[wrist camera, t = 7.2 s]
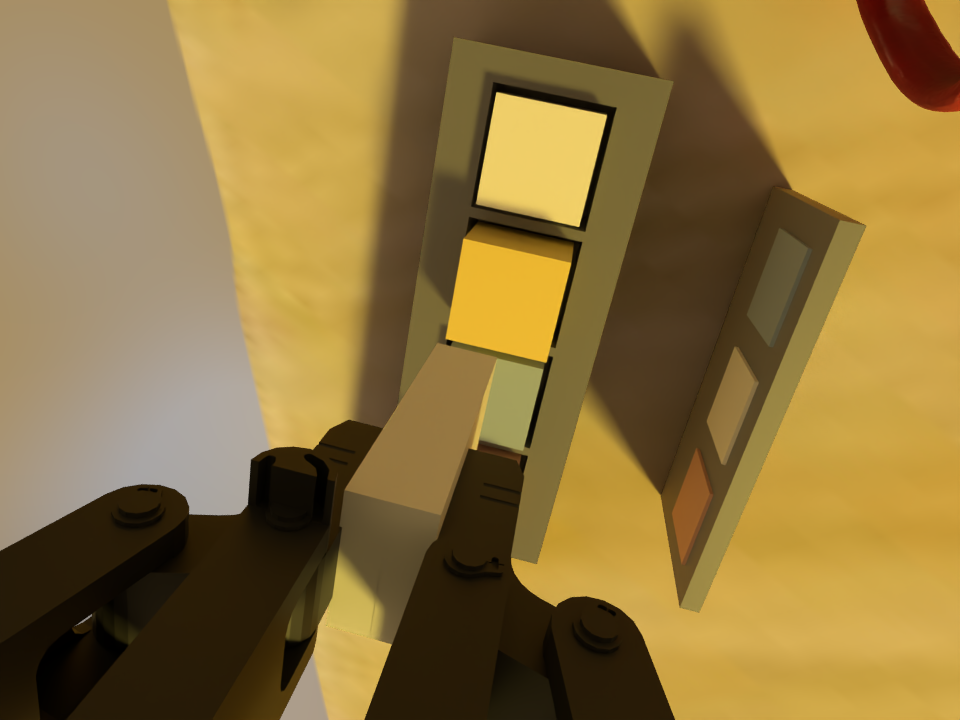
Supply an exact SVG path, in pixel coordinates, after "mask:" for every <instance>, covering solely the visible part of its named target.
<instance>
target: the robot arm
mask: <svg viewBox="0 0 960 720" xmlns="http://www.w3.org/2000/svg"><path fill="white" fill-rule="evenodd" d="M496 361H497V357H494V356H490V355H485V354H481V353H477V352H473V351H469V350H465V349H461V348H457V347H452V346H448V345H444V344H440V343H437V344H436V346H435V348H434V349H433V351H432V352H431V354H430V355H429V357H428V359H427V360H426V362H425V363H424V365H423V367H422V368H421V370H420V371H419V373H418V374H417V376H416V378H415V379H414V381H413V382H412V384H411V386H410V387H409V389H408V390H407V392H406V393H405V395H404V397H403V398H402V400H401V401H400V403H399V404H398V406H397V408H396V409H395V411H394V412H393V414H392V416H391V417H390V419H389V420H388V422H387V423H386V425H385V427H384V428H379V427H375V426H371V425H367V424H363V423H360V422H356V421H352V420H347V421H345V422H343V423H341V424H339V425H337V426H335V427H333V428H331V429H329V431H328V432H327V433H326V434H325V436H324V437H323V438H322V439H321V441H320V442H319V445H317V446H316V447H315V448H314V449H313V450H311V449H307V448H300V447H281V448H274V449H271V450H268V451H265V452H262V453H260V454H259V455H257V456H256V457H254V458H253V459H251V468H250V482H249V497H248V505H247V507H246V508H245V509H244V510H243V511H242V513H241V514H237V515H219V516H218V515H192V514H191V515H190V514H189V505H188V503H187V500H186V498H185V497H184V496H183V495H182V494H180V493H179V492H178V491H176V490H175V489H171V488H168V487H165V486H161V485H147V484H141V485H135V486H128V487H123V488H120V489H118V490H115V491H113V492H110V493H107V494H105V495H103V496H101V497H100V498H98V499H96V500H94V501H92V502H90V503H89V504H87V505H85V506H83V507H81V508H79V509H77V510H75V511H74V512H72V513H70V514H68V515H66V516H64V517H62V518H61V519H59V520H57V521H55V522H53V523H51V524H49V525H48V526H46V527H44V528H42V529H40V530H38V531H37V532H35V533H33V534H31V535H29V536H27V537H25V538H24V539H22V540H20V541H18V542H16V543H14V544H12V545H10V546H9V547H7V548H5V549H3V550H1V551H0V720H280V718H281V716H282V714H283V712H284V710H285V708H286V706H287V704H288V702H289V700H290V698H291V696H292V694H293V692H294V690H295V688H296V685H297V683H298V682H299V680H300V678H301V675H302V674H303V672H304V670H305V667H306V666H307V664H308V661H309V660H310V658H311V656H312V654H313V651H314V647H315V643H316V637H317V630H318V624H319V622H320V620H321V618H322V617H323V615H324V613H325V611H326V609H327V607H328V605H329V607H328V614H327V622H326V626H328V627H332V628H335V629H339V630H343V631H346V632H350V633H353V634H357V635H361V636H364V637H368V638H372V639H375V640H379V641H382V642H386V643H390V644H392V646H391V649H390V651H389V654H388V657H387V660H386V662H385V665H384V668H383V671H382V673H381V676H380V679H379V681H378V684H377V687H376V690H375V692H374V695H373V698H372V701H371V703H370V706H369V709H368V711H367V714H366V717H365V720H675V718H674V716H673V713H672V711H671V708H670V706H669V703H668V700H667V698H666V695H665V693H664V690H663V688H662V685H661V683H660V680H659V677H658V675H657V672H656V670H655V667H654V665H653V662H652V659H651V657H650V654H649V652H648V649H647V647H646V644H645V641H644V639H643V636H642V634H641V633H640V631H639V629H638V628H637V626H636V625H635V623H634V621H633V620H632V619H630V618H629V617H628V616H627V615H626V614H625V613H624V612H623V611H622V610H620V609H619V608H617V607H615V606H613V605H611V604H609V603H607V602H605V601H604V600H599V599H595V598H591V597H587V596H585V597H571V598H569V599H567V600H565V601H563V602H560V603H559V604H558V605H557V607H555V606H553V605H551V604H549V603H548V602H546V601H544V600H542V599H540V598H539V597H537V596H536V595H534V594H533V593H531V592H530V591H529V590H528V589H527V588H526V587H524V586H523V585H522V584H521V583H520V581H519V580H518V578H517V577H516V575H515V574H514V571H513V568H512V565H511V553H512V547H513V541H514V535H515V529H516V524H517V518H518V512H519V505H520V500H521V493H522V488H523V482H524V475H523V473H522V470H521V468H520V466H519V464H518V462H517V460H513V459H509V458H505V457H501V456H497V455H493V454H489V453H485V452H481V451H477V446H478V441H479V437H480V433H481V428H482V424H483V419H484V415H485V410H486V406H487V401H488V397H489V392H490V388H491V384H492V379H493V375H494V370H495V366H496ZM91 614H92V617H90V618H89V619H87V620H86V621H84V622H83V623H81V624H79V625H77V624H78V623H80V622H81V621H82V620H84V619H85V618H87V617H88V616H90V615H91ZM75 625H77V626H75ZM74 626H75V627H74Z"/></svg>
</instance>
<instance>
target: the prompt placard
mask: <svg viewBox="0 0 960 720" xmlns="http://www.w3.org/2000/svg"><path fill="white" fill-rule="evenodd" d="M865 228H866V225H864V224H862V223H860V222H858V221H855V220H853V219H851V218H849V217H847V216H845V215H843V214H841V213H839V212H837V211H835V210H833V209H831V208H829V207H827V206H824V205H822V204H820V203H818V202H816V201H814V200H812V199H810V198H808V197H806V196H804V195H802V194H800V193H798V192H795V191H793V190H790V189H785V188H780V187H775V186H773V189H772V192H771V195H770V197H769V200H768V203H767V206H766V208H765V211H764V214H763V217H762V219H761V222H760V225H759V228H758V230H757V233H756V236H755V239H754V241H753V244H752V247H751V250H750V252H749V255H748V258H747V261H746V263H745V266H744V269H743V272H742V274H741V277H740V280H739V283H738V285H737V288H736V291H735V294H734V296H733V299H732V302H731V305H730V307H729V310H728V313H727V315H726V318H725V321H724V324H723V326H722V329H721V332H720V335H719V337H718V340H717V343H716V346H715V348H714V351H713V354H712V357H711V359H710V362H709V365H708V368H707V370H706V373H705V376H704V379H703V381H702V384H701V387H700V390H699V392H698V395H697V398H696V401H695V403H694V406H693V409H692V412H691V414H690V417H689V420H688V423H687V425H686V428H685V431H684V434H683V436H682V439H681V442H680V445H679V447H678V450H677V453H676V456H675V458H674V461H673V464H672V467H671V469H670V472H669V475H668V478H667V480H666V483H665V486H664V489H663V491H662V494H661V500H662V506H663V512H664V518H665V524H666V529H667V535H668V541H669V547H670V553H671V559H672V565H673V571H674V577H675V583H676V588H677V594H678V600H679V606H680V608H683V609H687V610H691V611H695V612H698V613H699V612H700V610H701V608H702V605H703V603H704V601H705V599H706V596H707V594H708V592H709V589H710V587H711V585H712V582H713V580H714V578H715V575H716V573H717V571H718V568H719V566H720V564H721V561H722V559H723V557H724V554H725V552H726V550H727V548H728V545H729V543H730V541H731V538H732V536H733V534H734V531H735V529H736V527H737V524H738V522H739V520H740V517H741V515H742V513H743V510H744V508H745V506H746V504H747V501H748V499H749V497H750V494H751V492H752V490H753V487H754V485H755V483H756V480H757V478H758V476H759V473H760V471H761V469H762V466H763V464H764V462H765V460H766V457H767V455H768V453H769V450H770V448H771V446H772V443H773V441H774V439H775V436H776V434H777V432H778V429H779V427H780V425H781V422H782V420H783V418H784V415H785V413H786V411H787V409H788V406H789V404H790V402H791V399H792V397H793V395H794V392H795V390H796V388H797V385H798V383H799V381H800V378H801V376H802V374H803V371H804V369H805V367H806V365H807V362H808V360H809V358H810V355H811V353H812V351H813V348H814V346H815V344H816V341H817V339H818V337H819V334H820V332H821V330H822V327H823V325H824V323H825V321H826V318H827V316H828V314H829V311H830V309H831V307H832V304H833V302H834V300H835V297H836V295H837V293H838V290H839V288H840V286H841V283H842V281H843V279H844V276H845V274H846V272H847V270H848V267H849V265H850V263H851V260H852V258H853V256H854V253H855V251H856V249H857V246H858V244H859V242H860V239H861V237H862V235H863V232H864V230H865Z"/></svg>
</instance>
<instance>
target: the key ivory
mask: <svg viewBox="0 0 960 720" xmlns="http://www.w3.org/2000/svg"><path fill="white" fill-rule="evenodd" d="M606 118H607V114H606V113H605V112H600V111H595V110H590V109H585V108H581V107H576V106H571V105H566V104H561V103H556V102H552V101H547V100H542V99H537V98H532V97H527V96H523V95H518V94H513V93H508V92H496V97H495V103H494V108H493V114H492V119H491V125H490V130H489V136H488V141H487V146H486V152H485V157H484V163H483V168H482V174H481V179H480V185H479V190H478V196H477V201H476V204H477V205H482V206H486V207H491V208H495V209H500V210H505V211H509V212H514V213H518V214H523V215H527V216H532V217H536V218H541V219H545V220H550V221H554V222H559V223H563V224H568V225H572V226H577V227H579V226H580V222H581V218H582V214H583V210H584V206H585V202H586V198H587V194H588V190H589V186H590V182H591V178H592V174H593V170H594V166H595V162H596V158H597V154H598V150H599V146H600V142H601V138H602V134H603V130H604V126H605V122H606Z"/></svg>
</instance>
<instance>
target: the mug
mask: <svg viewBox="0 0 960 720" xmlns="http://www.w3.org/2000/svg"><path fill="white" fill-rule="evenodd" d="M856 1H857V4H858V8H859V11H860V15H861V18H862V20H863V23H864V25H865V28H866V30H867V32H868V35H869V37H870V39H871V41H872V43H873V45H874V48H875V50H876V52H877V54H878V56H879V58H880V60H881V62H882V64H883V65H884V67H885V69H886V71H887V73H888V74H889V76H890V78H891V80H892V81H893V82H894V84H895V85H896V86H897V87H898V89H899V90H900V91H901V92H902V93H903V94H904V95H905V96H906V97H907V98H908V99H909V100H911V101H912V102H913V103H915V104H917V105H918V106H920V107H922V108H925V109H928V110H932V111H939V112H954V111H960V58H959V57H958V56H957V55H956V54H955V52H954V51H953V50H952V48H951V46H950V44H949V43H948V42H947V40H946V39H945V37H944V36H943V34H942V33H941V31H940V29H939V27H938V25H937V24H936V22H935V20H934V18H933V17H932V15H931V13H930V12H929V10H928V7H927V5H926V3H925V1H924V0H856Z"/></svg>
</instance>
